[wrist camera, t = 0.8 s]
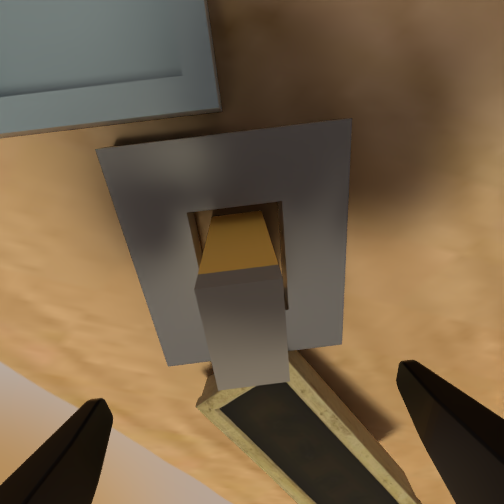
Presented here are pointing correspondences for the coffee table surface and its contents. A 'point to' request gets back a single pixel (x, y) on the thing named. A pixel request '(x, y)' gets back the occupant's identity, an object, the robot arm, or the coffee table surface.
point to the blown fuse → (242, 303)
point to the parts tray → (103, 63)
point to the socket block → (233, 195)
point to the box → (307, 440)
